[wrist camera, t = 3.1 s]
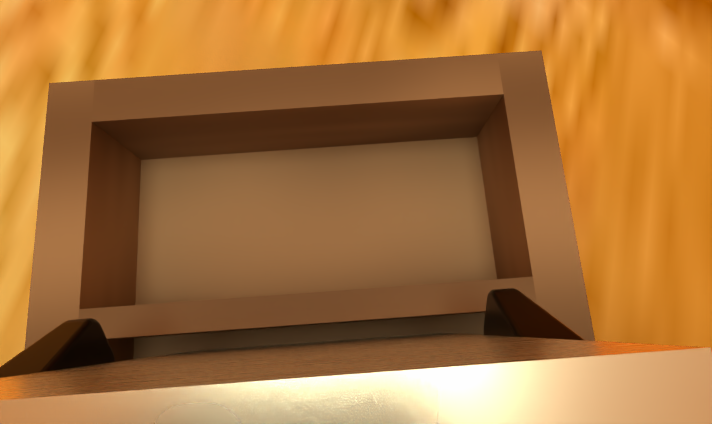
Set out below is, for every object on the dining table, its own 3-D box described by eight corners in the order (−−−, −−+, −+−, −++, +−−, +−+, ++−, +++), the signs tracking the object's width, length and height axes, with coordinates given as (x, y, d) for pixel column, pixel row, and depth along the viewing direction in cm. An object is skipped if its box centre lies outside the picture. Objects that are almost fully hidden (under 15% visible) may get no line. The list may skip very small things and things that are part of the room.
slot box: (557, 644, 12) (690, 856, 7) (128, 679, 12) (-29, 919, 7) (483, 137, 15) (541, 50, 11) (147, 160, 15) (49, 83, 10)
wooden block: (452, 420, 11) (811, 777, 2) (194, 439, 11) (-452, 883, 2) (442, 332, 11) (711, 347, 3) (195, 350, 11) (-335, 425, 3)
